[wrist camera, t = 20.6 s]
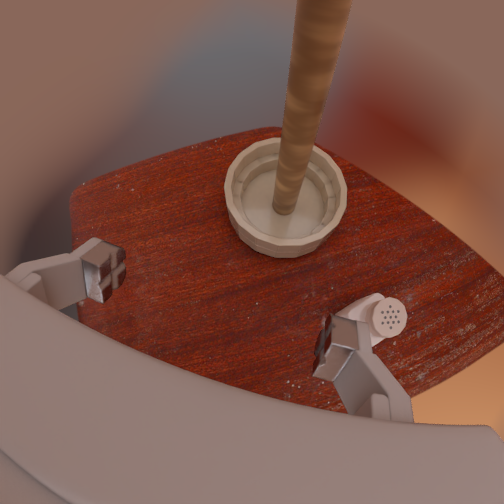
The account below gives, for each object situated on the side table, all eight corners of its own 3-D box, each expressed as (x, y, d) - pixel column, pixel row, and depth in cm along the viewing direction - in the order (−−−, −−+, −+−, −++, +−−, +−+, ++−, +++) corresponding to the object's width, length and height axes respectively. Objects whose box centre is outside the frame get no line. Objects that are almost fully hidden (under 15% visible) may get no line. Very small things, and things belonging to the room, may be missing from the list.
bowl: (207, 226, 33) (200, 208, 28) (261, 146, 36) (262, 121, 31) (306, 280, 31) (315, 270, 27) (350, 190, 34) (363, 169, 30)
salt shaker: (358, 298, 31) (396, 282, 22) (375, 328, 30) (419, 324, 21) (328, 317, 30) (359, 309, 21) (346, 348, 29) (382, 352, 20)
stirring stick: (268, 208, 33) (291, -27, 8) (278, 191, 34) (312, -36, 9) (288, 219, 33) (348, -12, 8) (299, 201, 33) (362, -22, 8)
